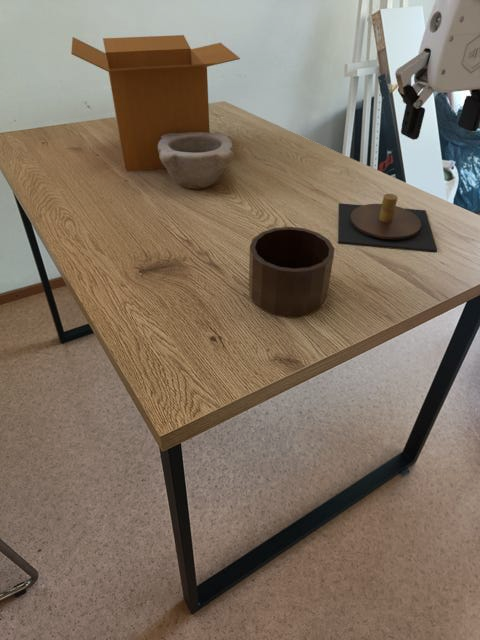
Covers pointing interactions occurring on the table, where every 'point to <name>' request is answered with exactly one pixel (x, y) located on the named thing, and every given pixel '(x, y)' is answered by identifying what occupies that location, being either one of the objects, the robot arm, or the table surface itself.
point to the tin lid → (385, 220)
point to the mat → (356, 237)
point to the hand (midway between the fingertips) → (438, 132)
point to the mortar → (195, 157)
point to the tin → (290, 271)
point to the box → (155, 89)
